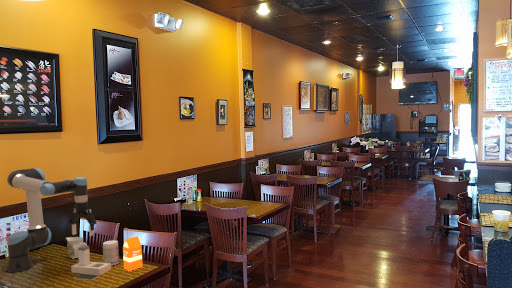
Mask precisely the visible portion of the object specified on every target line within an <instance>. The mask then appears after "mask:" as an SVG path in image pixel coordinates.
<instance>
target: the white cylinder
mask: <svg viewBox="0 0 512 288" xmlns="http://www.w3.org/2000/svg"><path fill="white" fill-rule="evenodd" d="M78 253H79V258H78V263H79V266H87V265H89V264H90V262H91V257H90V255H91V254H90V245H87V246H85V245H84V246H81V247H79V248H78Z"/></svg>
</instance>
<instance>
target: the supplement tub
mask: <svg viewBox="0 0 512 288" xmlns="http://www.w3.org/2000/svg"><path fill="white" fill-rule="evenodd" d="M102 253H103V254H102V255H103V256H102V257H103V263H111V267H113V265H114V266H117V265H118V264H119V263H120V254H119V241H118V240H107V241H106V240H105V241H104V242H103V243H102ZM116 264H117V265H116Z"/></svg>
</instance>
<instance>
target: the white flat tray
mask: <svg viewBox="0 0 512 288" xmlns="http://www.w3.org/2000/svg"><path fill="white" fill-rule="evenodd" d="M109 270H110V271H112V266H111V263H104V262H99V261H90V264H89V265H87V266H79V262H78V263H75V264H72V265H70V271H71V273H74V274H80V275H81V274H90V275H100V276H102V275H104V274H106V273H107V272H110V271H109Z"/></svg>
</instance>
